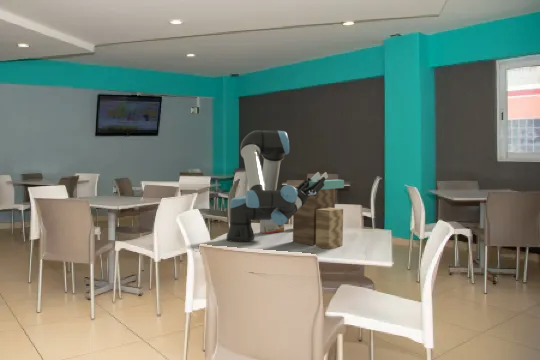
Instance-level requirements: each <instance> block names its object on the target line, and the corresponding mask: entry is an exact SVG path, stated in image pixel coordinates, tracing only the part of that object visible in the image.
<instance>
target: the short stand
mask: <svg viewBox="0 0 540 360" xmlns="http://www.w3.org/2000/svg"><path fill="white" fill-rule="evenodd" d="M343 227H344V208H338V207H335V208H324V209H316V245H315V247H316V248H321V249H325V248H326V250H330V248H331V249H335V248H338V247H343V241H344V240H343V236H344V235H343V234H344V231H343V230H344V229H343Z"/></svg>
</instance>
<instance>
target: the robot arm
mask: <svg viewBox="0 0 540 360" xmlns="http://www.w3.org/2000/svg"><path fill="white" fill-rule="evenodd" d="M239 151H240V155H241V158H243V162H244V169H245V173H246V179H247V180H246V181H247V185H248V190H247V191H246V192H245V195H244V196H237V197H236V196H235V197H233V198H231V199H230V201H229V227H228V229H227V230H228V231H227V233H226V241H229V242H234V243H235V242H236V243H237V242H240V243H241V242H242V243H244V242H246V243H247V242H252V241H255V233H254V230H253V227H252V221H260V220H271V219H272V220H273V221H274V222H275V223H276V224H278V225H283V224H284V225H285V223H287V222H288V221H290V219H291V217H292V218H293V215H294V214H295V213H296V212H297V210H298V209H299V208H301V206H303V205H304V204H305V203H306V201H307V198H308V197H310V196H311V195H314V196H316V195H317V193H318V192H319V191H320V190H321V189H322V187H323V186H324V181H325V180H328V178H329V175H328V173H327V172H326V171H325V172H324V173H323V174H322V175H321V174H320V172H319V171H317V172H316V173H315V174H314V175H313V176H312V177H311V178H310V177H308V178H307V179H304V180H303V181H302V182H301V183H300V184H298V185H299V186H298V187H297V188H295V187H294V185H290V184H286V185H284V186H282V187H281V189H277V187H278V181H279V175H280V166H281V162H282V160H284V159H285V155H289V154H290V140H289V137H288V133H287V132H286V131H284V130H261V129H260V130H253V131H251V132H249V133H248V134H247V135H246V136H244V138H243V140H241V143H240V150H239ZM260 155H261V157H262V158H263V165H262V162H261V157H260ZM309 181H317V182H316V183H314V184H313V185H312V186H309Z"/></svg>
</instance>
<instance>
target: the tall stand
mask: <svg viewBox="0 0 540 360" xmlns="http://www.w3.org/2000/svg"><path fill="white" fill-rule="evenodd" d="M299 185H300V184H297V185H296V184H295V185H293V187H295V188H297V187H298V186H299ZM324 208H336V188H335V189H322V190H320V191H319V192H318V193H317V195H316V196H314V195H311V196H310V197H308V198H307V201H306V203H305V204H304V205H303V206H301V208H299V209H298V210H297V212H296V213H295V214H294V215H293V216H292V243H299V244H303V245H311V246H316V209H324Z"/></svg>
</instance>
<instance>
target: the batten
mask: <svg viewBox="0 0 540 360" xmlns="http://www.w3.org/2000/svg"><path fill="white" fill-rule="evenodd" d="M317 181H318V180H317ZM317 181H309V186H312V185H313V184H314V183H316V182H317ZM344 188H345V180H344V179H326V180H325V181H324V186H323V187H322V189H335V190H336V189H344ZM322 189H321V190H322Z"/></svg>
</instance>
